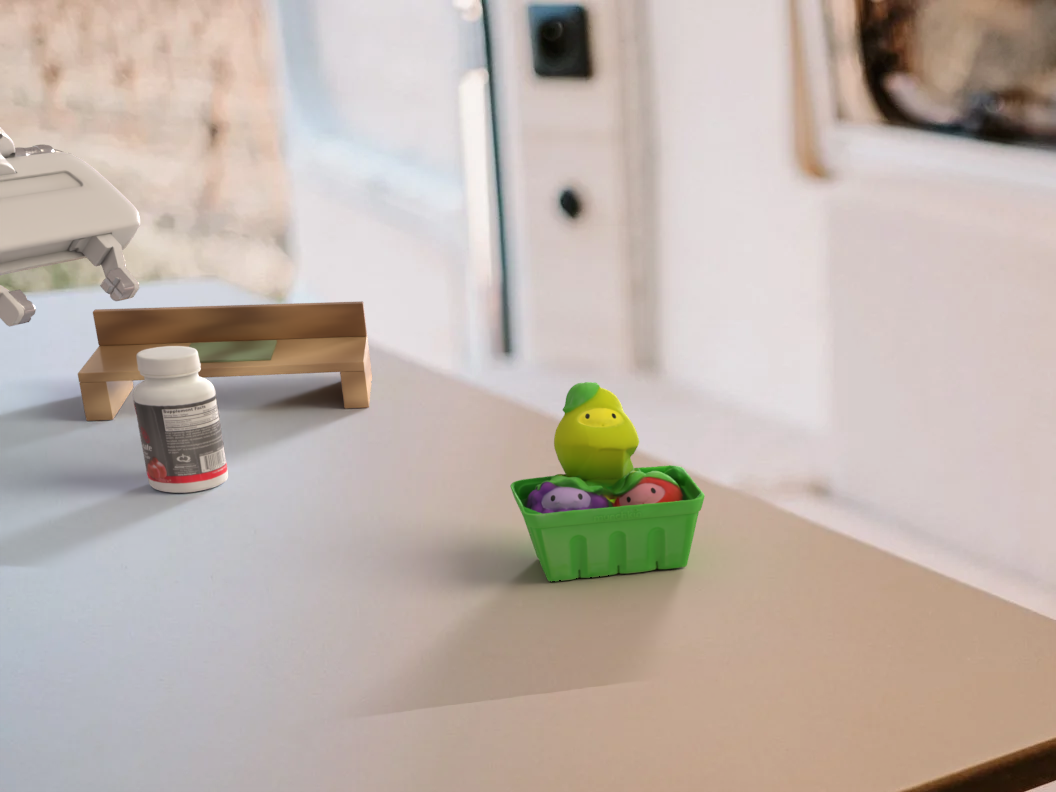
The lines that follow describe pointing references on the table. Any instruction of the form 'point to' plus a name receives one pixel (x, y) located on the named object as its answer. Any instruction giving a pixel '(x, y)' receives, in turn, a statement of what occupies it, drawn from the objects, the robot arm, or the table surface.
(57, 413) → the table surface
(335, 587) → the table surface
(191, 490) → the pill bottle
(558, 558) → the fruit basket
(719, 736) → the table surface
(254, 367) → the bench
